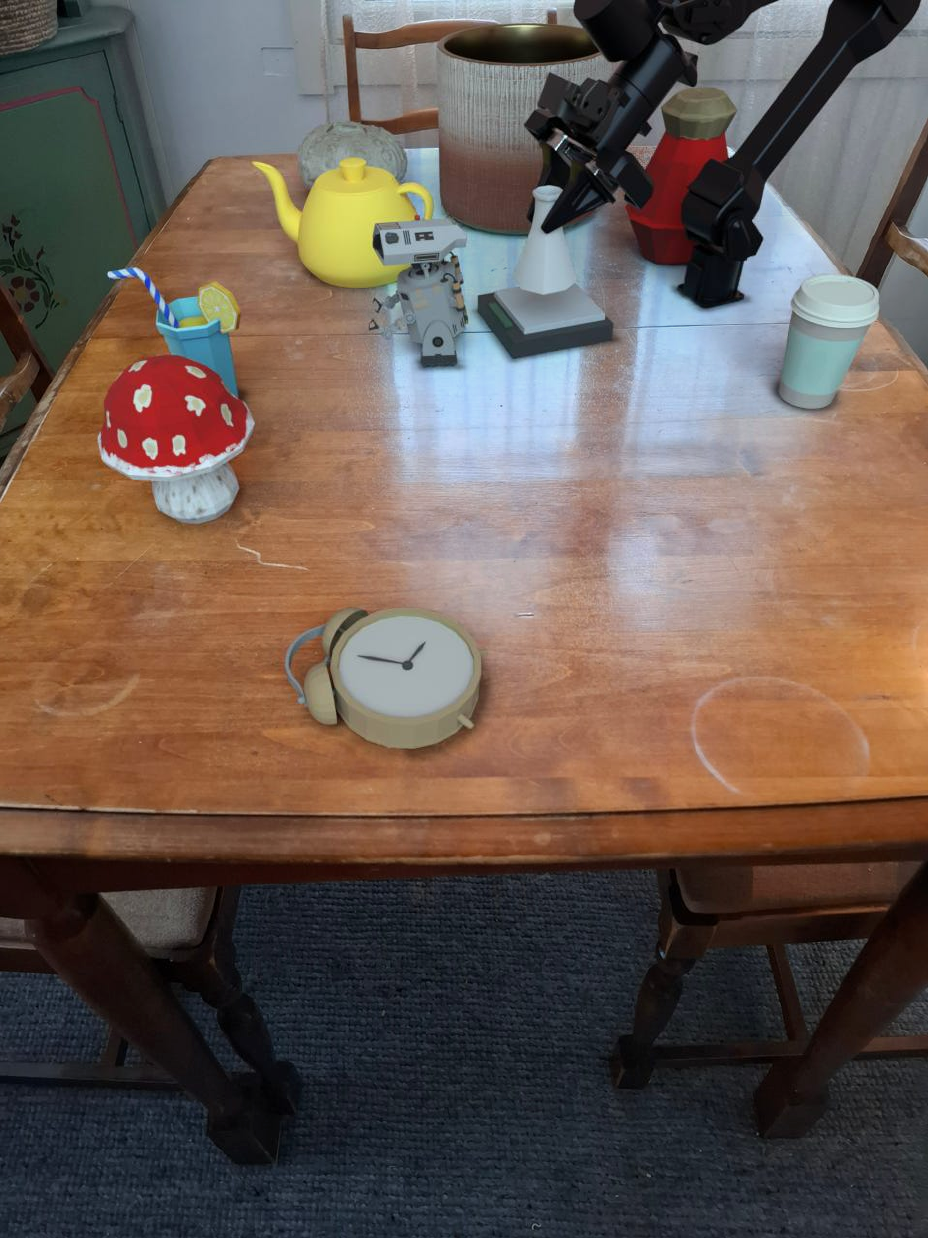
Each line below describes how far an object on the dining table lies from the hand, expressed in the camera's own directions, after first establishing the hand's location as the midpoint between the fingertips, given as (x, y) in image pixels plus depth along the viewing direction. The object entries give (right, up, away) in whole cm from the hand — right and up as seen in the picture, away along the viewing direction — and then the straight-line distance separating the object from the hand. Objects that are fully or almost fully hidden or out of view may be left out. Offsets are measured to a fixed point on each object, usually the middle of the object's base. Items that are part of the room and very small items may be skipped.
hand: (536, 225), depth 88 cm
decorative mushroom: (-34, -32, -10) cm, 48 cm away
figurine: (-13, -11, +9) cm, 19 cm away
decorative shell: (-26, +28, +45) cm, 59 cm away
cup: (-37, -19, +2) cm, 42 cm away
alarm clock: (-14, -49, -26) cm, 58 cm away
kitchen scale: (+2, -6, +13) cm, 14 cm away
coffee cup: (+30, -19, +1) cm, 35 cm away
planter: (+1, +22, +40) cm, 45 cm away
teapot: (-23, +7, +26) cm, 36 cm away
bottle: (+22, +9, +27) cm, 36 cm away
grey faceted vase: (+1, -4, +5) cm, 7 cm away
